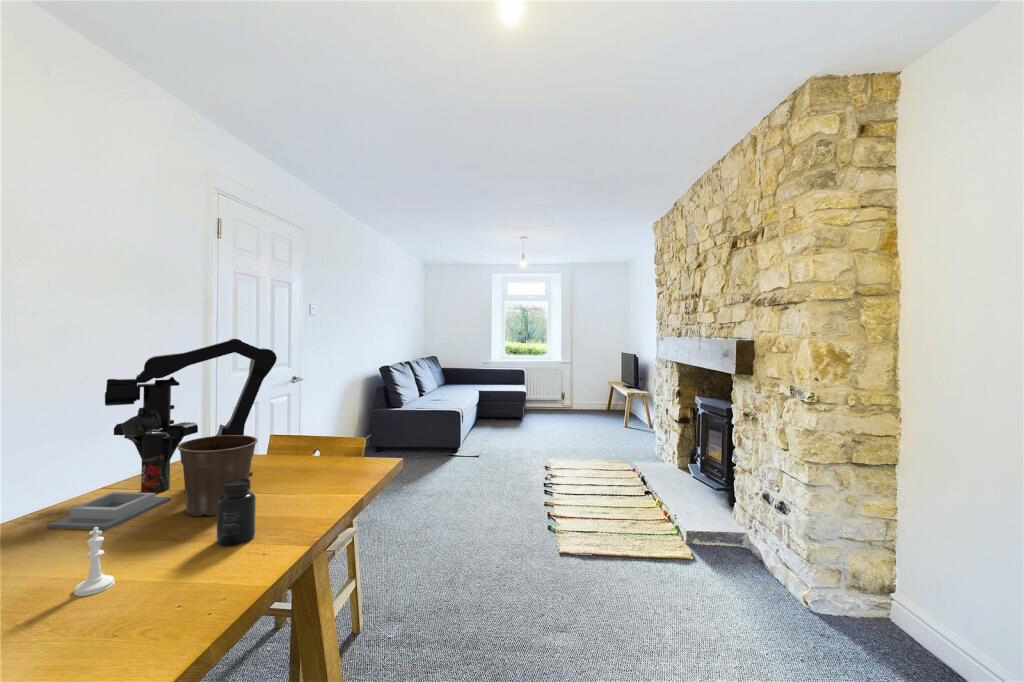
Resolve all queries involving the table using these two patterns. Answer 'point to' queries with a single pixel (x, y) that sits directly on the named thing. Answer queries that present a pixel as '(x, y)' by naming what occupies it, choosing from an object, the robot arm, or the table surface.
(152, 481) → the deodorant
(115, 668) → the table surface
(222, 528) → the supplement bottle
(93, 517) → the socket board
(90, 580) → the chess piece
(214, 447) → the plant pot
